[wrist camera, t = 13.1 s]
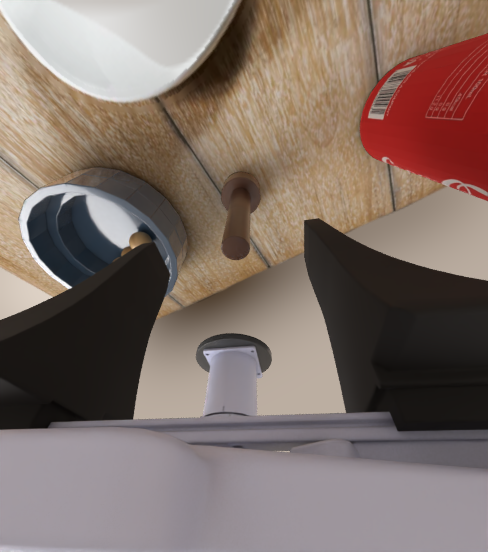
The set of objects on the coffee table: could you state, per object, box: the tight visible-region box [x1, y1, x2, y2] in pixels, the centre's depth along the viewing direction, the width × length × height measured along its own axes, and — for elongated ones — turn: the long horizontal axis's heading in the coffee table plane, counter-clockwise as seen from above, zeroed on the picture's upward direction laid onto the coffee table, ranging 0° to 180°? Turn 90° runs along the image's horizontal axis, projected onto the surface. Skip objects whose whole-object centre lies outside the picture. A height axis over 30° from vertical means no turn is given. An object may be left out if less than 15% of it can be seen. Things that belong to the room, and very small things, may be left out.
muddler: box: [221, 172, 260, 260], centre depth 16 cm, size 3×3×9 cm
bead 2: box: [129, 232, 152, 249], centre depth 21 cm, size 2×2×2 cm
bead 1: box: [121, 246, 132, 256], centre depth 22 cm, size 2×2×2 cm
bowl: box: [19, 167, 187, 297], centre depth 21 cm, size 12×12×4 cm
